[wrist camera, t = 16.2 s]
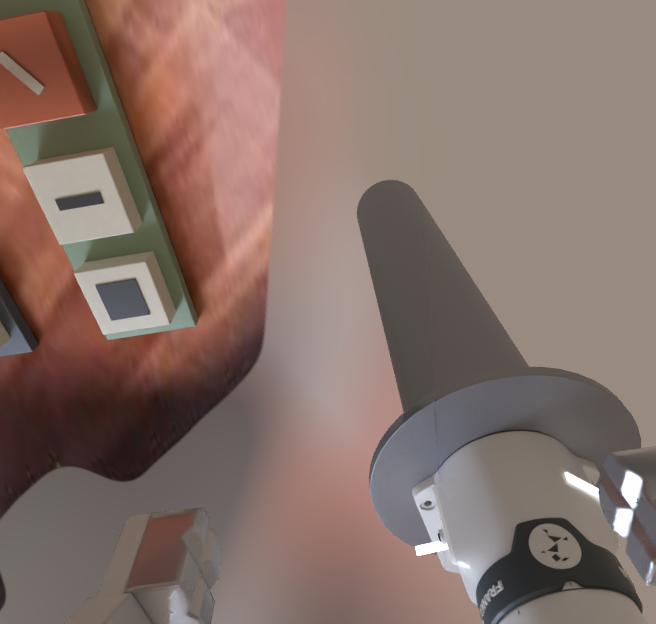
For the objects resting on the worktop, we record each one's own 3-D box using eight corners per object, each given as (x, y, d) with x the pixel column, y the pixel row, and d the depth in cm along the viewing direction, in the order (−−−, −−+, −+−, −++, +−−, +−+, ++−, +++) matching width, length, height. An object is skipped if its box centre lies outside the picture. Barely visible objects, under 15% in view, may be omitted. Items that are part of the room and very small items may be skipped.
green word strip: (198, 319, 37) (190, 340, 34) (112, 333, 37) (97, 355, 34) (77, -23, 25) (51, -29, 23) (-46, 2, 26) (-83, -1, 23)
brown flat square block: (98, 110, 28) (85, 115, 26) (18, 125, 28) (0, 130, 27) (60, 11, 25) (43, 9, 24) (-27, 28, 26) (-51, 28, 24)
